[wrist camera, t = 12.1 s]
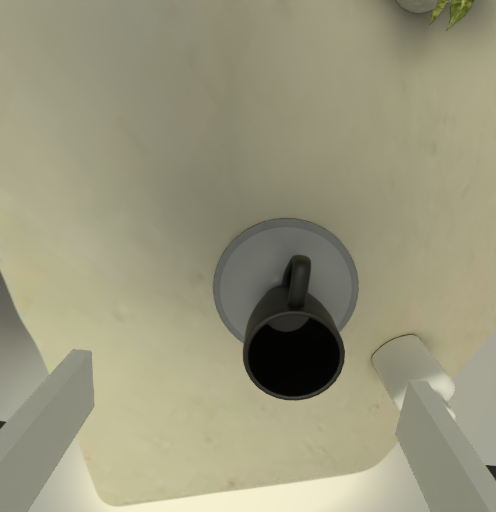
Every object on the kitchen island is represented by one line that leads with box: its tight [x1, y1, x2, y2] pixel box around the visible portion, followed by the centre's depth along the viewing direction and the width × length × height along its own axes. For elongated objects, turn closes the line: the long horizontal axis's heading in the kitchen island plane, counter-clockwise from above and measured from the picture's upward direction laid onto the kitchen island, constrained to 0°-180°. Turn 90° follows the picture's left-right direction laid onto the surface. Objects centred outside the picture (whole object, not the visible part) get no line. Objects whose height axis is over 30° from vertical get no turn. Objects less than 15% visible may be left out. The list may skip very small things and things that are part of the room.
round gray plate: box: [213, 218, 358, 343], centre depth 39 cm, size 15×15×1 cm
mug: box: [243, 255, 345, 400], centre depth 34 cm, size 8×12×10 cm
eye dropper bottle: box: [372, 335, 455, 421], centre depth 35 cm, size 4×6×12 cm
